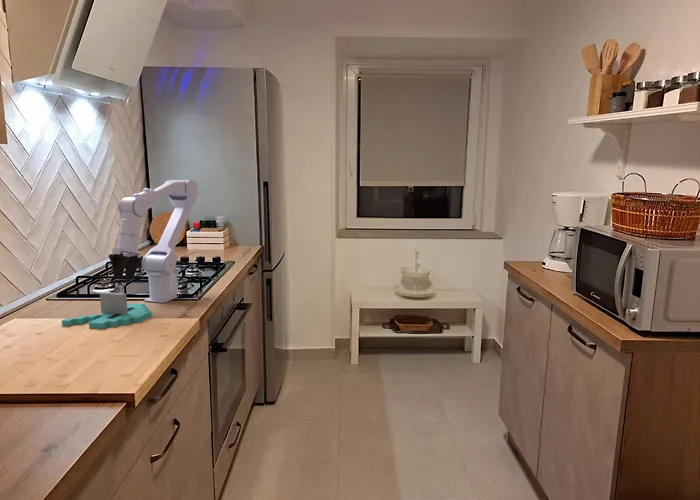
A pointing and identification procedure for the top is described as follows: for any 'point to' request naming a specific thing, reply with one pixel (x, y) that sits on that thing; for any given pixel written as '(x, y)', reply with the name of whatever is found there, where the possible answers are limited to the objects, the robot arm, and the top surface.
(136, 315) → the alien figure
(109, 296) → the tile
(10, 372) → the top surface
